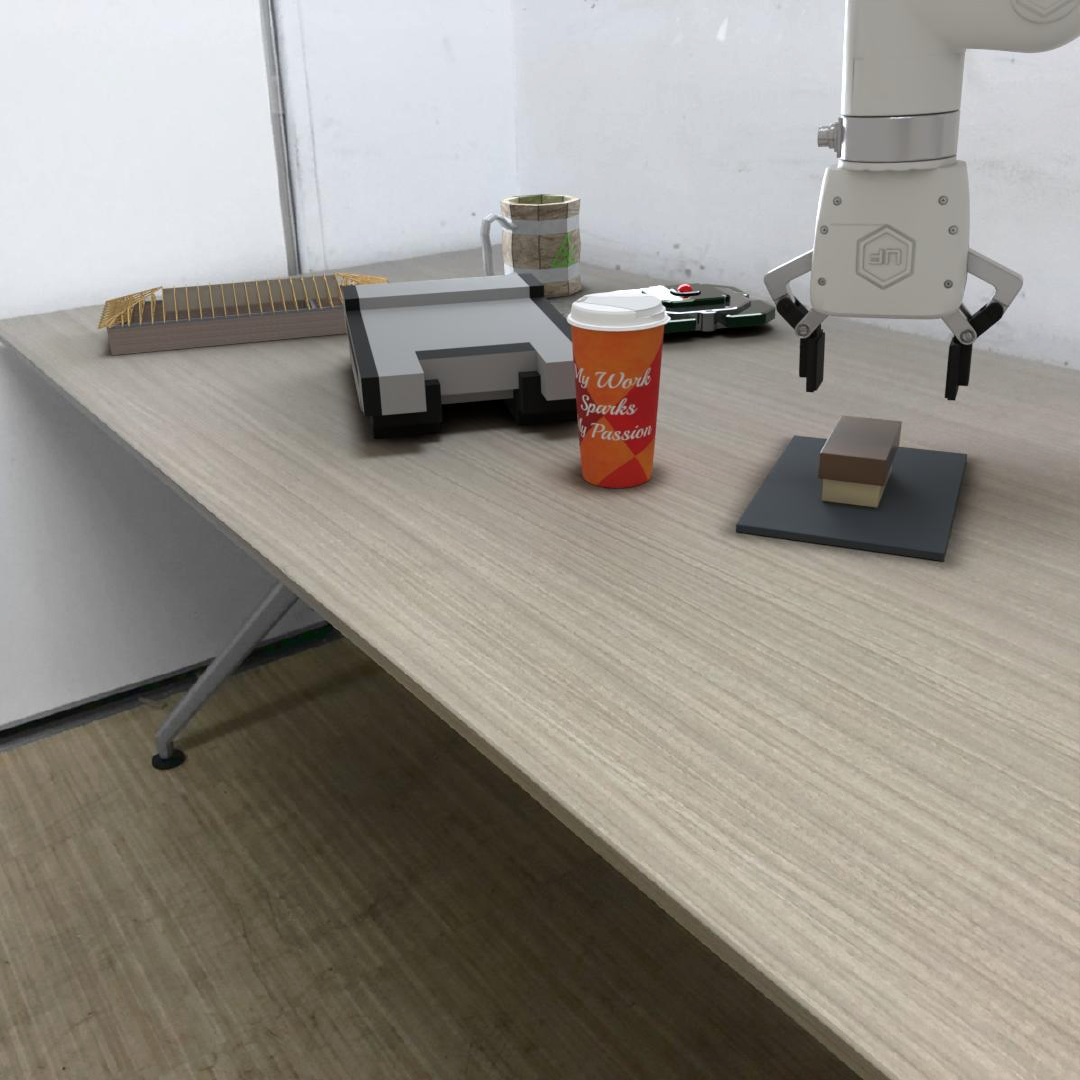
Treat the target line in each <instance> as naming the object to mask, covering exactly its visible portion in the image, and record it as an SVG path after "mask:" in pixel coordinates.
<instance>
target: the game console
mask: <svg viewBox="0 0 1080 1080" xmlns="http://www.w3.org/2000/svg"><path fill="white" fill-rule="evenodd" d="M341 287H342V297H343V307H344V317H345V327H346V332H347V333H346V336H347V341H348V350H349V358H350V364H351V368H352V369H351V370H352V373H353V378H354V383H355V388H356V389H355V390H356V392H357V397H358V403H359V407H360V411H361V412H362V413H363V416H364V417H365V418H367V417H368V419H369V424H370V429H371V433H372V438H373V439H383V438H393V437H405V436H414V435H427V434H437V433H441V423H443V422H444V419H443V406H442V405H449V404H450V405H451V404H460V403H470V402H471V403H472V402H483V401H493V400H503V402H504V403H505V405H506V407H507V408H508V410H509V412H510V413H511V415H512V416H513V418H514V420H515V421H516V424H517V426H523V425H533V424H534V425H535V424H546V423H556V422H566V421H578V416H577V402H576V389H575V376H574V364H573V347H572V330H571V324H569V323H568V322H567V317H565V316H564V315H563V314H562V313H561V312H560V311H559V310H558V309H557V308H556V307H555V306H554V305H553V304H552V302H550V301H549V300H548V298H545V297H544V285H543V284H542V283H541V282H540V281H539V280H538V279H537V278H536V277H535V276H534V275H532V274H531V273H526V274H511V275H505V274H499V275H494V276H485V275H484V276H482V275H481V276H473V277H472V276H471V277H470V276H469V277H456V278H455V277H453V278H441V279H440V278H438V279H424V280H412V281H411V280H409V281H397V282H395V281H394V282H390V283H387V282H386V283H379V284H365V285H350V286H341Z"/></svg>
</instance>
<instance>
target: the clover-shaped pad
mask: <svg viewBox="0 0 1080 1080" xmlns="http://www.w3.org/2000/svg"><path fill="white" fill-rule="evenodd" d="M611 292H634V293H644V294H649V295H653V296H656V297H658V298H659V299H661V302H662V306H664V307H665V308H666V311H665V312H666V313H667V315H668V316H669V317H670V321H669V322H668V323H667V324H664V333H663V335H665V334H674V333H686V332H695V331H701V332H714V331H717V329H726V328H729V329H734V328H745V327H756V326H763V325H767V324H769V323H770V322H771V321H773V320H775V319H776V310H777V309H776V305H773V304H771V303H769V302H767V301H765V300H763V299H752V298H750V293H747V292H746V291H744V290H742V289H740V288H739V287H736V286H732V285H724V284H723V285H722V284H713V283H700V282H699V283H698V282H694V283H693V282H692V283H683V284H682V283H681V284H670V285H669V284H661V285H656V286H648V287H642V288H636V289H635V288H634V289H622V290H612V291H611Z"/></svg>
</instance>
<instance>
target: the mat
mask: <svg viewBox="0 0 1080 1080" xmlns="http://www.w3.org/2000/svg"><path fill="white" fill-rule="evenodd" d="M827 440H828V438H821V437H815V436H814V437H812V436H805V435H803V436H802V435H793V436H792V437H791V439H790V441H789V443H788V444H787V445H786V447H785V448H784V450H783V452H782V453H781V455H780V457H779V458H778V459H777V461H776V463H775V464H774V466H773V467H772V469H771V470H770V472H769V473H768V475H767V476H766V478H764V481H763V482H762V484H761V486H759V489H758V490H757V492H756V493H755V494H754V496H753V498H752V499H751V501H750V502H749V504H748V506H747V507H746V509H745V510H744V511H743V513H742V515H740V518H739V519H738V521H737V522H736V524H735V533H736V532H737V533H744V534H751V535H758V536H764V537H772V538H779V539H786V540H792V541H798V542H799V541H800V542H807V543H814V544H819V545H820V544H821V545H828V546H833V547H834V546H835V547H841V548H847V549H848V548H849V549H855V550H856V549H857V550H862V551H868V552H869V551H870V552H877V553H883V554H890V555H898V556H905V557H912V558H917V559H918V558H920V559H925V560H933V561H939V562H940V561H941V562H944V561H945V558H946V553H947V548H948V544H949V539H950V535H951V531H952V525H953V522H954V518H955V513H956V508H957V504H958V500H959V496H960V490H961V486H962V483H963V478H964V474H965V469H966V465H967V461H968V454H967V453H961V452H953V451H944V450H943V451H942V450H935V449H924V448H916V447H915V448H914V447H907V446H899V447H898V450H897V452H896V455H895V457H894V460H893V462H892V470H891V474H890V476H889V479H888V481H887V484H886V487H885V489H884V492H883V494H882V497H881V500H880V502H879V505H878V507H877V508H875V507H867V506H860V505H852V504H844V503H836V502H828V501H822V491H823V479H820V478H818V470H819V458H820V452H821V450H822V449H823V447H824V445H825V443H826V442H827Z"/></svg>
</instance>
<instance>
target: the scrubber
mask: <svg viewBox="0 0 1080 1080" xmlns="http://www.w3.org/2000/svg"><path fill="white" fill-rule="evenodd" d="M902 425H903V421H901V420H894V419H893V420H892V419H882V418H874V417H873V418H872V417H863V416H852V415H843V414H842V415H840V416H839V419H838V420H837V422H836V424H835V426H834V427H833V429H832V431H831V433H830V435H829V437H828V438H827V439H828V440H827V442H826V443H825V445H824V447H823V449H822V450H821V452H820V458H819V470H818V478H820V479H823V491H822V501H828V502H836V503H844V504H852V505H860V506H867V507H875V508H877V507H878V505H879V502H880V500H881V497H882V494H883V492H884V489H885V487H886V484H887V481H888V479H889V476H890V474H891V470H892V462H893V460H894V457H895V455H896V452H897V450H898V447H900V441H901V433H902V427H903V426H902Z"/></svg>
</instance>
